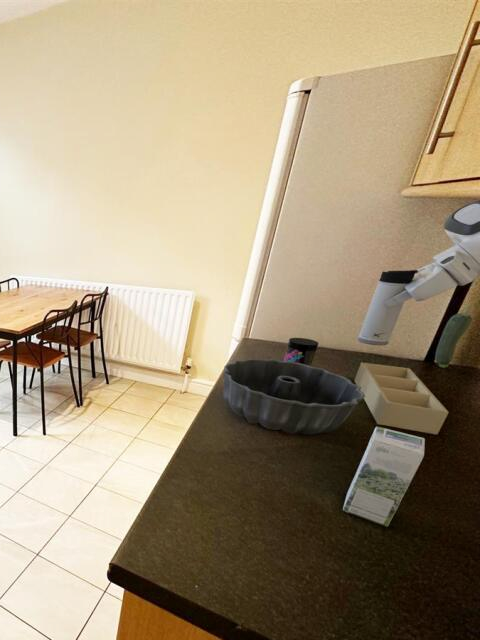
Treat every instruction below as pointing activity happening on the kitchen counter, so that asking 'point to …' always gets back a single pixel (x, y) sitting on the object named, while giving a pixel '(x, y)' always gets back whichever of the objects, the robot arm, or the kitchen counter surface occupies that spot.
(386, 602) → the kitchen counter surface
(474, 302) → the vegetable
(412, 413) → the organiser
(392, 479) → the syrup box
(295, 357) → the supplement container
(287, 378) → the bundt pan
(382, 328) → the travel mug
